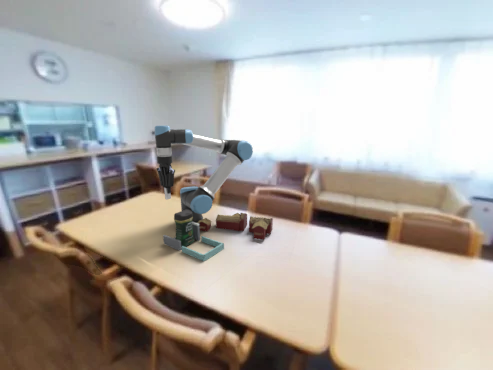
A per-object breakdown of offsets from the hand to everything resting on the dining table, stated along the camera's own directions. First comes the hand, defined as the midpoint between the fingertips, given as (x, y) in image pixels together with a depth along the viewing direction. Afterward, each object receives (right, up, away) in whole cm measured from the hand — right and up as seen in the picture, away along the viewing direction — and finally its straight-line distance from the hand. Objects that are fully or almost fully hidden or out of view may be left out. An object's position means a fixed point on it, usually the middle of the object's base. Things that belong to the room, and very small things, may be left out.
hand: (168, 198), depth 130 cm
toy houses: (+36, -20, +16) cm, 44 cm away
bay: (+8, -24, +1) cm, 25 cm away
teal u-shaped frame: (+21, -26, -8) cm, 34 cm away
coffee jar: (+10, -24, -1) cm, 26 cm away
